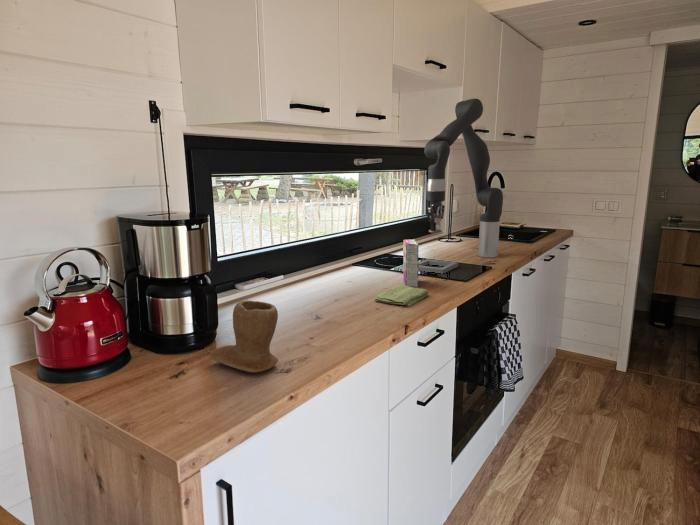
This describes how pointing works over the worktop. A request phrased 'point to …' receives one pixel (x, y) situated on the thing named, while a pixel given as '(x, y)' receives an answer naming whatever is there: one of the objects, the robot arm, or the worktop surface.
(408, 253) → the candy bar box
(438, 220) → the cord spool
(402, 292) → the washcloth
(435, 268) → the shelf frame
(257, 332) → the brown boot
